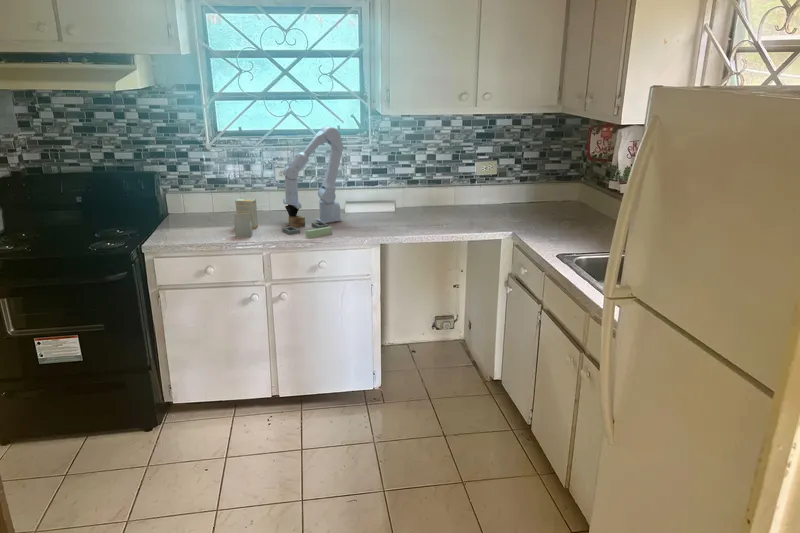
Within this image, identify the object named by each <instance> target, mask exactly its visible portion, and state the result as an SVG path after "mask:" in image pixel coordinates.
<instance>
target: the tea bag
mask: <svg viewBox="0 0 800 533" xmlns="http://www.w3.org/2000/svg"><path fill="white" fill-rule="evenodd" d="M233 216H234V220H233V222H234V223H233V226H234V236H235V238H252V237H253V229H252V221H251V214H236V213H234V214H233Z"/></svg>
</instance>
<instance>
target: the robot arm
mask: <svg viewBox="0 0 800 533" xmlns="http://www.w3.org/2000/svg"><path fill="white" fill-rule="evenodd" d="M326 143H328V145H329V146H330V148H331V150H330V153H329V157H328V163H327V167H326V172H325V176H324V180H323V182H322V183H321V186H320V188H319V189H318V191H317V196H318V198H319V200H318V202H319V203H318V206H319V218H315V219H316V221H317V222H324V223H326V224H329V223H334V222H339V221H340V222H341V221H342V219H341V205H340V203H339V201H337V200H336V179H337V176H338V172H339V167H340V163H341V160H342V155H343V150H344V144H343V141H342V138H341V133H340V132H339V130H338V129H337V128H335V127H332V126H330V125H324V126H322V127H321V128H320V130H319V131H318V132H316V134H315V135H314V137H313V138H312V140H311V141H310V142H309V143H308V145H307V146H306V147H305V149H304V150H303V151H301V152H298V153H296V154H294V158H293V159H292V160H291V161H290V162H288V163H287V166H285V167H284V168H283V171H282V174H283V176H284V191H285V192H284V193H285V198H283V199H282V202H283V204H284V205H285V206H284V208H285V209H286V212H287V213H288V214H287V215H288V217H291V216H298V213H299V210H300V209H302V204H301V203H300V201H299V191H298V177H299V174H300V173H299V172H301V170H302V169H303V168H304V167H305V166H306V165H307V163H308V162H309V159H310V158H309V157H310V156H311V155H312V154H313V153H314V152H315V150H316V149H317V148H318V147H319V146H320V145H322V144H323V145H324V144H326Z"/></svg>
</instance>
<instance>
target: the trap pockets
mask: <svg viewBox="0 0 800 533" xmlns="http://www.w3.org/2000/svg"><path fill="white" fill-rule="evenodd" d="M311 227H312V228H313V229H308V230H305V238H306V237H307V239H311V238H317V237H322V236H328V234H329V235H333V227H332V226H330V225H329V223H324V222H320V221H315V222H312V223H311ZM281 230H282V232H283V233H285V234H287V235H296V234H300V232H301V231H300V229H299V228H298V227H293V226H285V227H282V228H281Z"/></svg>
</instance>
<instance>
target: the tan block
mask: <svg viewBox="0 0 800 533" xmlns="http://www.w3.org/2000/svg"><path fill="white" fill-rule="evenodd" d="M288 225H290V226H289V227H291V226H293V227H295V228H300V227H301V226H302V227H306V217H305V216H303V215H300V214H299V215H297V216H291V217H289V216H288ZM302 227H301V228H302Z"/></svg>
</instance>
